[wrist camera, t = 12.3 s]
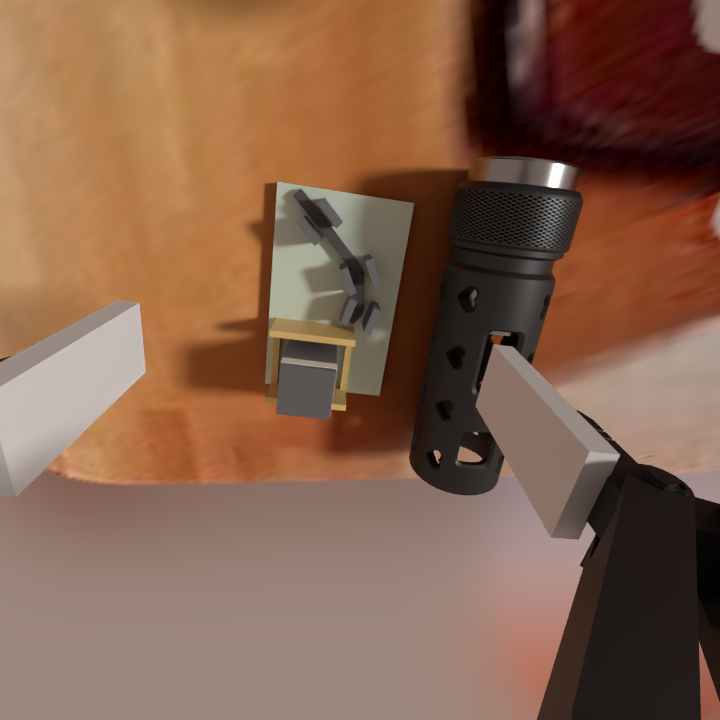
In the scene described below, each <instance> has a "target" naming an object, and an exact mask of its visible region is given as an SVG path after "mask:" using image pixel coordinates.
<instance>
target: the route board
mask: <svg viewBox="0 0 720 720" xmlns="http://www.w3.org/2000/svg"><path fill="white" fill-rule="evenodd" d="M300 189H302V190H303V191H304V192H305V194H306V195H307V196H308V197H309V199H310V200H311V201H312V202H313V203H314V205H315V206H316V207H317V208H318V210H319V211H320V212H321V213H322V215H323V216H324V217H325V218H326V220H327V221H328V222H329V224H330V225H331V226H332V228H333V229H334V230H335V232H336V233H337V235H338V236H339V237H340V239H341V240H342V241H343V243H344V244H345V245H346V247H347V248H348V249H349V251H350V252H351V253H352V255H353V256H354V258H355V259H356V260H357V262H358V263H359V264H360V266H361V267H362V268H363V271H364V311H362V312H363V315H362V316H361V317H360V318H359V319H358V320H357V321H356V322H355V323H354V324H352V323H351V322H350V318H351V316H352V313H353V311H354V309H355V306H356V304H357V298H356V296H355V295H354V294H356V289H355V286H354V274H353V272H352V271H351V270H350V268H349V267H348V266H347V264H346V263H345V262H344V261H343V259H342V258H341V257H340V255H339V254H338V253H337V251H336V250H335V249H334V247H333V246H332V245H331V243H330V242H329V241H328V239H327V238H326V237H325V235H324V234H323V233H322V231H321V230H320V229H319V227H318V226H317V225H316V223H315V222H314V221H313V220H312V219H311V217H310V216H309V215H308V214H307V213H306V211H305V210H304V209H303V208H302V206H301V205H300V204H299V203H298V202H297V200H296V199H295V198H294V197H293V195H294V194H295V193H297V192H298V191H299V190H300ZM413 208H414V203H410V202H404V201H397V200H391V199H384V198H378V197H372V196H365V195H359V194H352V193H346V192H340V191H333V190H327V189H321V188H314V187H308V186H301V185H295V184H289V183H282V182H277V194H276V211H275V227H274V243H273V259H272V276H271V292H270V308H269V325H268V341H267V357H266V373H265V384H270V383H271V373H272V358H273V344H274V337H269V334H270V329H271V327H272V325H273V323H274V321H275V319H276V317H277V318H285V319H293V320H301V321H309V322H317V323H325V324H334V325H342V326H350V327H354V329H355V338H356V343H355V347H352V350H351V357H350V364H349V371H348V378H347V385H346V392H349V393H358V394H367V395H377V396H379V395H380V390H381V384H382V379H383V373H384V368H385V362H386V357H387V351H388V346H389V340H390V335H391V329H392V324H393V318H394V313H395V307H396V302H397V296H398V291H399V285H400V280H401V274H402V269H403V263H404V258H405V252H406V247H407V241H408V236H409V230H410V224H411V219H412V213H413ZM288 342H289V339H285V338H281V346H280V360H279V373H278V380H279V376H280V364H281V360H282V357H283V356H284V353H285V350H286V347H287V344H288ZM344 353H345V346H344V345H337V374H336V381H335V386H340V382H341V374H342V367H343V360H344Z"/></svg>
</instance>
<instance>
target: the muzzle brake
mask: <svg viewBox="0 0 720 720" xmlns="http://www.w3.org/2000/svg"><path fill="white" fill-rule="evenodd" d="M580 172H581V168H580V167H579V166H577V165H574V164H571V163H567V162H562V161H556V160H550V159H541V158H531V157H517V156H483V157H476V158H473V159H471V161H470V166H469V171H468V176H467V181H461V182H460V184H459V185H458V186H457V187H456V189H455V193H454V199H453V204H452V210H451V215H450V221H449V226H448V232H447V235H448V236H449V237H450V238H449V243H450V244H452V245H453V246H454V251H453V257H452V258H451V259H450V260H448V261H447V262H446V264H445V267H444V272H443V277H442V283H441V288H440V294H439V299H438V304H437V310H436V315H435V321H434V326H433V331H432V337H431V342H430V348H429V353H428V358H427V364H426V369H425V375H424V380H423V385H422V391H421V396H420V402H419V407H418V412H417V418H416V423H415V429H414V434H413V439H412V445H411V450H410V455H409V460H410V464H411V466H412V468H413V470H414V471H415V472H416V474H417V475H418V476H419V477H420V478H421V479H423V480H424V481H425V482H427V483H428V484H430V485H432V486H434V487H436V488H437V489H440V490H443V491H445V492H449V493H453V494H459V495H478V494H483V493H485V492H488V491H490V490H491V489H493V488H494V487H495V485H496V484H497V481H498V478H499V475H500V471H501V468H502V464H503V461H504V455H503V453H502V451H501V450H500V448H499V446H498V444H497V443H496V441H495V439H494V437H493V436H492V434H491V432H490V430H489V429H488V427H487V425H486V423H485V422H484V420H483V418H482V416H481V415H480V413H479V411H478V409H477V408H476V402H477V399H478V395H479V392H480V389H481V384H480V383H479V382H481V381H482V380H483V378H484V375H485V372H486V368H487V365H488V361H489V358H490V355H491V351H492V348H493V345H494V343H493V341H492V339H491V338H490V337H491V336H493V335H500V336H503V339H502V340H501V342H500V343H501V345H503V346H512V347H514V348H515V349H516V350H517V351H518V352H519V354H520V355H521V356H522V357H523V358H524V359H525V360H526V361H527V362H528V363H529V364H530V365H532V361H533V358H534V355H535V351H536V348H537V344H538V341H539V338H540V334H541V331H542V327H543V324H544V320H545V317H546V314H547V310H548V306H549V303H550V300H551V296H552V293H553V290H554V286H555V277H554V276H553V274H552V273H551V272H552V268H553V265H554V262H555V261H556V260H559V259H562V258H563V256H564V253H566V252H567V251H569V249H570V245H571V242H572V239H573V235H574V232H575V228H576V225H577V222H578V218H579V215H580V212H581V208H582V205H583V199H582V196H581V193H580V192H577V191H575V190H576V186H577V183H578V179H579V176H580ZM473 432H478V435H475V434H474V433H473ZM460 446H461V447H464V448H467V449H469V450H471V451H473V452H475V453H476V454H478V455H479V456H480V457H481V458H482V460H481V461H480V462H463V461H459V460H457V455H458V451H459V447H460ZM434 450H438V451H439V452H440V453H441V457H440V459H438V460H439V464H438V463H437V461H436V458H435V456H434V453H433V451H434Z"/></svg>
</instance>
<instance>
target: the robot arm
mask: <svg viewBox="0 0 720 720" xmlns="http://www.w3.org/2000/svg"><path fill="white" fill-rule="evenodd" d="M145 372H146V370H145V359H144V349H143V338H142V327H141V316H140V305H139V303H137V302H128V301H120V300H116V301H114V302H112V303H111V304H109V305H107V306H105V307H103V308H101V309H99V310H97V311H96V312H94V313H92V314H90V315H88V316H86V317H84V318H82V319H81V320H79V321H77V322H75V323H73V324H71V325H69V326H67V327H66V328H64V329H62V330H60V331H58V332H56V333H54V334H52V335H51V336H49V337H47V338H45V339H43V340H41V341H39V342H37V343H36V344H34V345H32V346H30V347H28V348H26V349H24V350H22V351H21V352H19V353H17V354H15V355H13V356H9V357H6V358H3V359H0V496H4V497H17V496H18V495H19V494H20V493H21V492H22V491H23V490H24V489H25V488H26V487H27V486H28V485H29V484H30V483H31V482H32V481H33V480H35V479H36V478H37V477H38V476H39V475H40V474H41V473H42V472H43V471H44V470H45V469H46V468H47V467H48V466H49V465H50V464H51V463H52V462H53V461H54V460H55V459H56V458H57V457H58V456H59V455H60V454H61V453H62V452H63V451H65V450H66V449H67V448H68V447H69V446H70V445H71V444H72V443H73V442H74V441H75V440H76V439H77V438H78V437H79V436H80V435H81V434H82V433H83V432H84V431H85V430H86V429H87V428H88V427H89V426H90V425H91V424H92V423H93V422H94V421H95V420H96V419H98V418H99V417H100V416H101V415H102V414H103V413H104V412H105V411H106V410H107V409H108V408H109V407H110V406H111V405H112V404H113V403H114V402H115V401H116V400H117V399H118V398H119V397H120V396H121V395H122V394H123V393H124V392H125V391H126V390H127V389H128V388H130V387H131V386H132V385H133V384H134V383H135V382H136V381H137V380H138V379H139V378H140V377H141V376H142V375H143V374H144V373H145ZM476 408H477V409H478V411H479V413H480V415H481V416H482V418H483V420H484V422H485V423H486V425H487V427H488V429H489V430H490V432H491V434H492V436H493V437H494V439H495V441H496V443H497V444H498V446H499V448H500V450H501V451H502V453H503V455H504V457H505V458H506V460H507V462H508V464H509V465H510V467H511V469H512V470H513V472H514V474H515V476H516V477H517V479H518V481H519V483H520V484H521V486H522V488H523V490H524V491H525V493H526V495H527V497H528V498H529V500H530V502H531V504H532V505H533V507H534V509H535V510H536V512H537V514H538V516H539V517H540V519H541V521H542V523H543V525H544V526H545V528H546V530H547V532H548V533H549V535H550V537H553V538H566V539H579V537H580V535H581V533H582V531H583V529H584V527H585V525H586V523H587V522H588V523H589V524H590V526H591V527H592V528H593V530H594V531H595V533H596V535H595V537H594V539H593V541H592V543H591V545H590V547H589V549H588V550H587V552H586V554H585V557H584V559H583V560H582V562H581V564H580V566H581V567H583V571H582V574H581V577H580V581H579V584H578V587H577V590H576V594H575V597H574V600H573V603H572V607H571V610H570V613H569V617H568V620H567V623H566V626H565V630H564V633H563V636H562V639H561V643H560V646H559V649H558V652H557V656H556V659H555V663H554V666H553V669H552V672H551V675H550V679H549V682H548V685H547V689H546V692H545V695H544V698H543V701H542V705H541V708H540V711H539V715H538V718H537V720H701V704H700V672H699V671H700V669H699V642H700V645H701V648H702V651H703V654H704V657H705V659H706V663H707V665H708V668H709V671H710V674H711V677H712V680H713V683H714V686H715V689H716V692H717V695H718V698H719V701H720V504H717V503H714V502H711V501H707V500H704V499H700V498H697V497H695V496H694V494H693V492H692V490H691V489H690V488H689V487H688V486H687V485H686V484H685V483H684V482H683V481H681V480H680V479H679V478H677V477H676V476H674V475H672V474H670V473H668V472H666V471H664V470H662V469H659V468H656V467H654V466H651V465H644V464H638V463H637V462H636V461H635V460H634V459H633V458H632V457H631V456H630V455H629V454H627V453H626V452H625V451H624V450H623V449H622V448H621V447H620V446H619V445H618V444H617V443H616V442H615V441H613V440H612V438H611V437H610V436H609V435H608V434H607V433H606V432H603V429H602V428H601V427H600V426H599V425H598V424H597V423H596V422H595V421H594V420H592V419H591V418H589V417H588V416H586V415H584V414H583V413H581V412H580V411H578V410H575V409H574V408H573V407H572V406H571V405H570V404H569V403H568V402H567V401H566V400H565V399H564V398H563V397H562V396H561V395H560V394H559V393H558V392H557V391H556V390H555V389H554V388H553V387H552V386H551V385H550V384H549V383H548V382H547V381H546V380H545V379H544V378H543V377H542V376H541V375H540V374H539V373H538V372H537V371H536V370H535V369H534V368H533V367H532V366H531V365H530V364H529V363H528V362H527V361H526V360H525V359H524V358H523V357H522V356H521V355H520V354H519V352H518V351H517V350H516V349H515V348H514V347H512V346H503V345H495V344H494V345H493V348H492V351H491V355H490V358H489V361H488V365H487V368H486V372H485V375H484V378H483V382H482V385H481V389H480V392H479V395H478V399H477V402H476Z"/></svg>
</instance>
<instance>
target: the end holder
mask: <svg viewBox="0 0 720 720" xmlns="http://www.w3.org/2000/svg"><path fill="white" fill-rule="evenodd" d="M269 337H274V344H273V358H272V373H271V383H270V386H269V389H268V392H267V394H266V397H265V403H272V404H277V398H278V387H279V380H278V373H279V360H280V346H281V338H285V339H293V340H301V341H310V342H318V343H327V344H335V345H344V346H345V353H344V360H343V367H342V374H341V382H340V386H335V387H334V394H333V401H332V408H331V410H341V411H345V410H346V385H347V378H348V371H349V364H350V357H351V350H352V347H355V343H356V338H355V329H354V327H350V326H342V325H334V324H325V323H317V322H309V321H301V320H293V319H285V318H277V317H276V319H275V321H274V323H273V325H272V327H271V329H270V334H269Z"/></svg>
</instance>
